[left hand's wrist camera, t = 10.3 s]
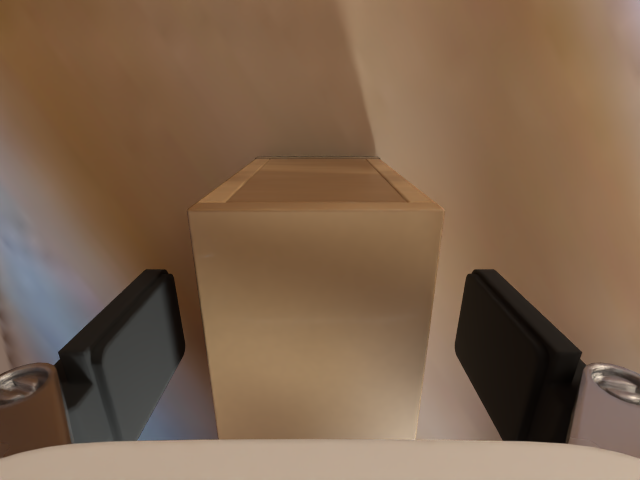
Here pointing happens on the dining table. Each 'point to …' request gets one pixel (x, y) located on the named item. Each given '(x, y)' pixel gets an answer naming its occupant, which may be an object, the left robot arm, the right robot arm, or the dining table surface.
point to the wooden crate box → (316, 298)
